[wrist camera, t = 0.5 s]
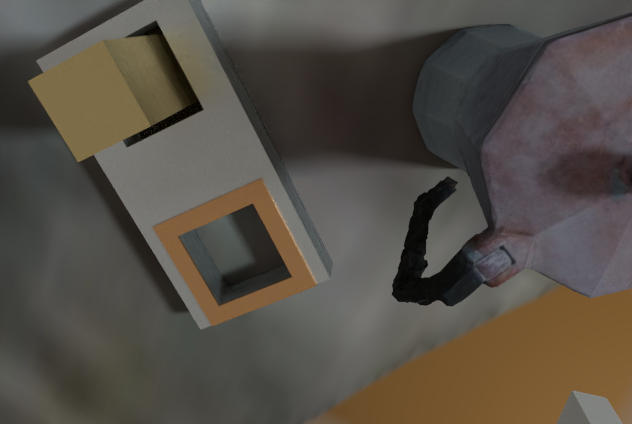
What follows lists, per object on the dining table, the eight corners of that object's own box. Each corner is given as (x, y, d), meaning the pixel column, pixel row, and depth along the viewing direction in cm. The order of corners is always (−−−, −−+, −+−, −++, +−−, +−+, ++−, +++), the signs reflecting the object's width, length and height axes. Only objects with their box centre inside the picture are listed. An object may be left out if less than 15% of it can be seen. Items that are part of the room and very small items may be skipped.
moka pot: (638, 74, 32) (1023, 160, 13) (435, 236, 37) (511, 469, 18) (539, -53, 30) (824, -159, 12) (338, 134, 35) (310, 275, 16)
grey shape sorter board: (58, 57, 35) (34, 60, 32) (191, -17, 32) (177, -20, 30) (210, 311, 40) (199, 331, 38) (332, 262, 38) (330, 280, 35)
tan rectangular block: (109, 64, 34) (27, 81, 26) (167, 33, 34) (102, 40, 25) (145, 126, 36) (78, 162, 27) (202, 98, 35) (151, 126, 26)
